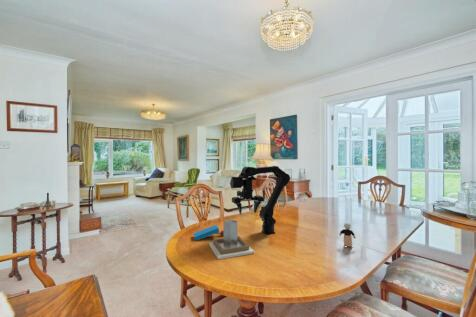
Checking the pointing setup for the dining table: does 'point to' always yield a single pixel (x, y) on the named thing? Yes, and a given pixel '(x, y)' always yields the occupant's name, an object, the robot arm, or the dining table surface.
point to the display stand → (225, 252)
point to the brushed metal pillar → (230, 233)
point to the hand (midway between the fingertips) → (247, 213)
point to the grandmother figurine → (347, 235)
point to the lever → (207, 232)
